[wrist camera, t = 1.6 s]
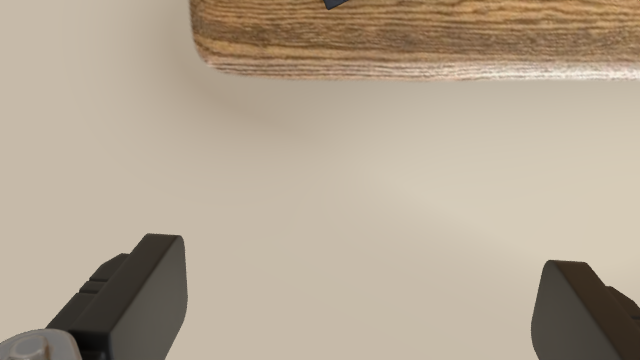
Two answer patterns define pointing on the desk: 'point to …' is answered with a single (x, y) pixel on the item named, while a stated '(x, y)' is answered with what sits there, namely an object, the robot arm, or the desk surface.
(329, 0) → the ring stand
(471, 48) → the desk surface
